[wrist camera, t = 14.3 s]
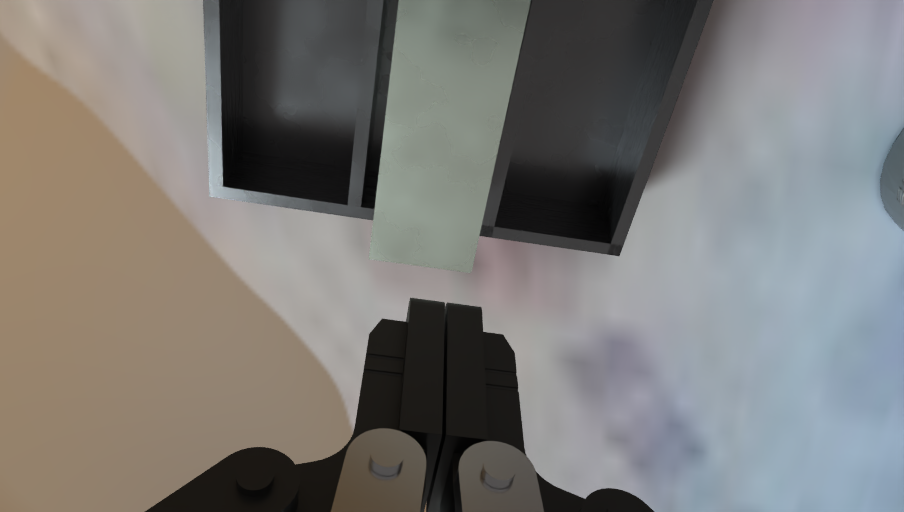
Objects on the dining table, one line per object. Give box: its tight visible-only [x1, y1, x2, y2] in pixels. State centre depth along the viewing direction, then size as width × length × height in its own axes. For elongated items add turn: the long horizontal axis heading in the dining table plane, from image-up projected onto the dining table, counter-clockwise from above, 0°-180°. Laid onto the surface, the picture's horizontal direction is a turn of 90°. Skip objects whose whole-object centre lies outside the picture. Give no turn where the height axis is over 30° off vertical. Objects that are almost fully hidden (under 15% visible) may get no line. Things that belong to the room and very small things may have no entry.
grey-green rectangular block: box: [369, 0, 531, 273], centre depth 27 cm, size 4×12×9 cm, turn 171°
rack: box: [203, 0, 713, 256], centre depth 30 cm, size 19×16×4 cm
